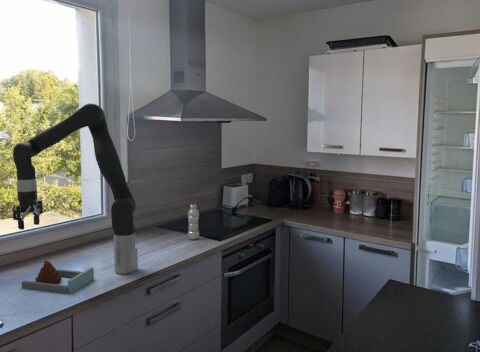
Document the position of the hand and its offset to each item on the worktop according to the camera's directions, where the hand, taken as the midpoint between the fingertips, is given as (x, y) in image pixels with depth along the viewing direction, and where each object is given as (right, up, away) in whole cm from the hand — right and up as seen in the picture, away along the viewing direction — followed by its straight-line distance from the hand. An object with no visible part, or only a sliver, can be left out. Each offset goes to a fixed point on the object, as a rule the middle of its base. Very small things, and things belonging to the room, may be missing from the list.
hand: (29, 226), depth 177 cm
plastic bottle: (+64, -14, +58) cm, 87 cm away
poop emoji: (+11, -22, -6) cm, 26 cm away
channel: (+15, -22, -7) cm, 28 cm away
